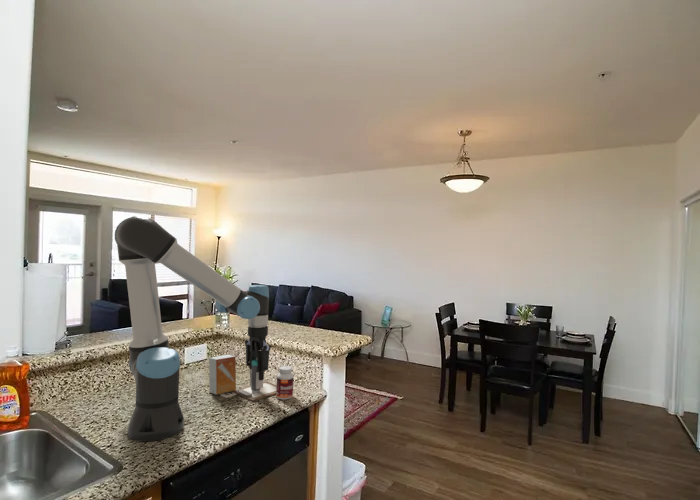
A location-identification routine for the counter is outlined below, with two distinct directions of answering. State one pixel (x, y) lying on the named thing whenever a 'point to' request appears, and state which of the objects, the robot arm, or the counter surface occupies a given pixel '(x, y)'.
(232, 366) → the small box
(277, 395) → the pill bottle
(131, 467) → the counter surface
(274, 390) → the clipboard
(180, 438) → the counter surface
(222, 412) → the counter surface
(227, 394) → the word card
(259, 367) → the robot arm
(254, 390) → the marker
